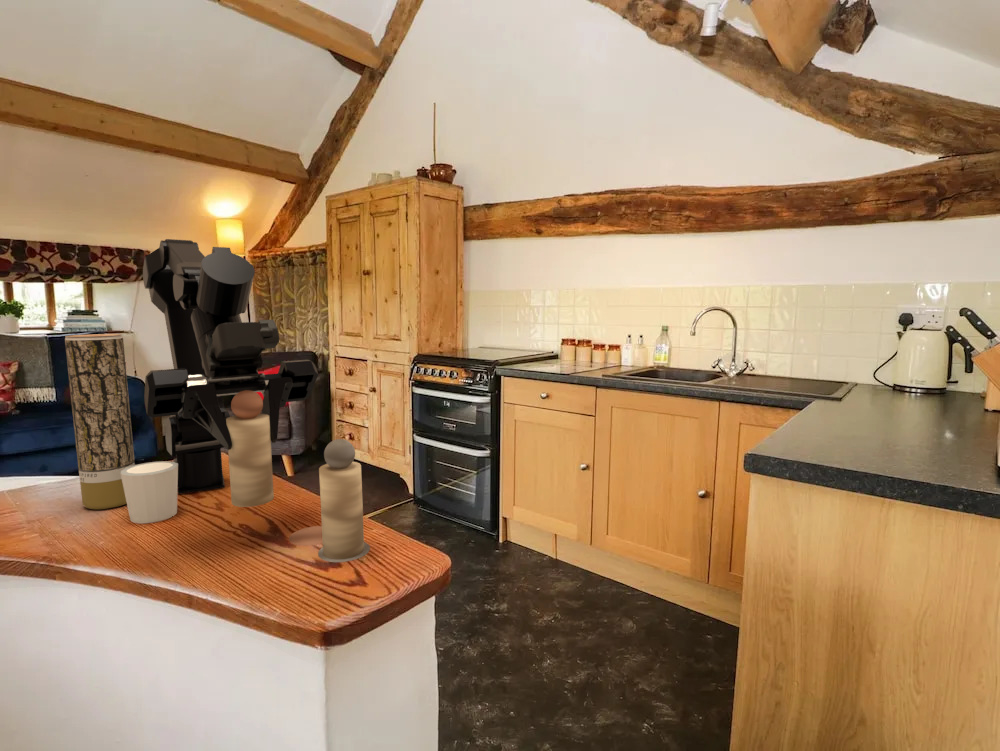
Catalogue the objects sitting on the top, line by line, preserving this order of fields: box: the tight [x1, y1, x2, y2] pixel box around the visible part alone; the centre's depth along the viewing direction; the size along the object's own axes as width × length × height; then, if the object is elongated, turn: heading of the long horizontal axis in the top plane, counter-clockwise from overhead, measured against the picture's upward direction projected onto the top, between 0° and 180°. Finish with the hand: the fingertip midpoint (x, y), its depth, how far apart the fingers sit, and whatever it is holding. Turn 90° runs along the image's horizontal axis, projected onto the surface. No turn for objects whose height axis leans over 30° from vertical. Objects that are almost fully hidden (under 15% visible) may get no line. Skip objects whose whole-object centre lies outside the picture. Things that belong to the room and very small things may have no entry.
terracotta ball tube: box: [226, 390, 275, 508], centre depth 66 cm, size 5×5×13 cm
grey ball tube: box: [318, 438, 365, 560], centre depth 64 cm, size 5×5×13 cm
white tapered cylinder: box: [120, 460, 178, 524], centre depth 78 cm, size 7×7×7 cm
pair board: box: [288, 525, 371, 563], centre depth 67 cm, size 13×7×1 cm, turn 49°
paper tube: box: [64, 333, 136, 510], centre depth 82 cm, size 7×7×25 cm
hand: (252, 444), depth 64 cm, fingers closed on terracotta ball tube, 5 cm apart
